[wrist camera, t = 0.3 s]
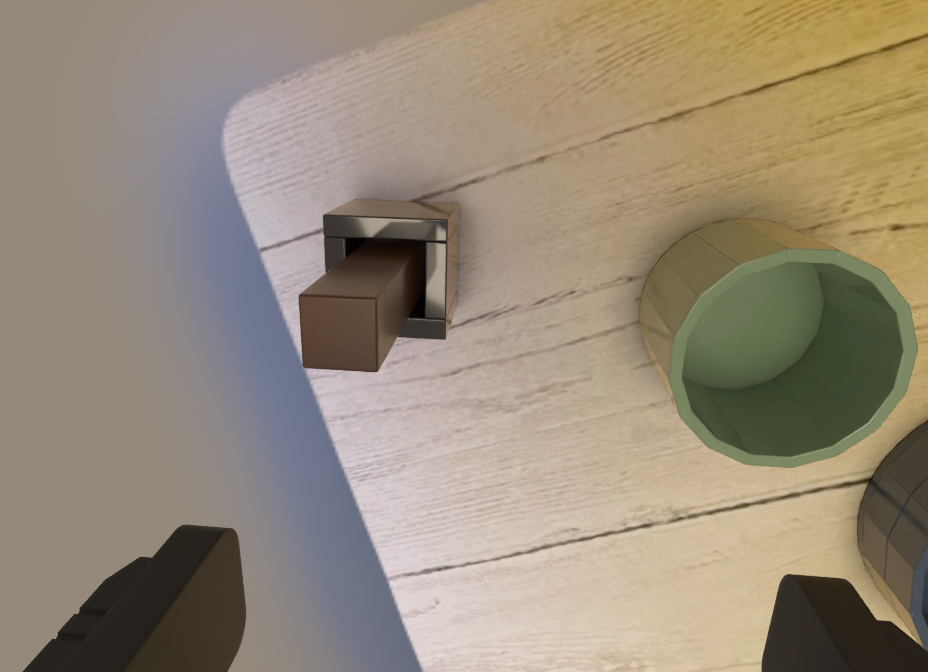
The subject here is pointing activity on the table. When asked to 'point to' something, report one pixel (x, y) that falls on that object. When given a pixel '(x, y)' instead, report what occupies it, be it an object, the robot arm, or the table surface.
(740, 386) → the utensil cup
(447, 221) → the holder
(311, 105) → the table surface
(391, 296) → the stick
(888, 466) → the bowl
